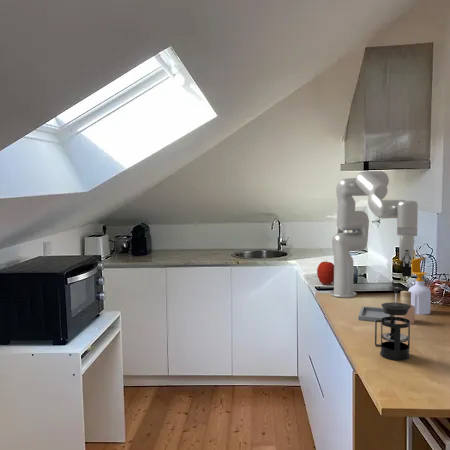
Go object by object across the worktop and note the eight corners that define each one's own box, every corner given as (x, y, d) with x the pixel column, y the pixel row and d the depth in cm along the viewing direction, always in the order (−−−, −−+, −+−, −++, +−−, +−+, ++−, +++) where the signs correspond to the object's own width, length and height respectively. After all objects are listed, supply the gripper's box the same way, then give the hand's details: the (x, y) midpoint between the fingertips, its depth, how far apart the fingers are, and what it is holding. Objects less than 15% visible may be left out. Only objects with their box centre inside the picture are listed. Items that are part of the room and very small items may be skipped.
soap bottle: (416, 317, 205) (418, 259, 203) (403, 311, 214) (404, 256, 211) (435, 315, 207) (436, 258, 205) (421, 309, 216) (422, 255, 214)
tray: (361, 311, 214) (361, 306, 214) (390, 314, 210) (390, 308, 210) (358, 322, 199) (358, 316, 199) (389, 324, 195) (389, 318, 195)
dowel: (400, 319, 199) (400, 290, 198) (410, 320, 198) (411, 291, 196) (399, 322, 195) (400, 292, 194) (410, 323, 194) (411, 293, 193)
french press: (409, 351, 165) (410, 284, 163) (414, 361, 156) (416, 291, 154) (373, 349, 167) (374, 283, 165) (376, 359, 158) (377, 290, 156)
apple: (316, 285, 267) (316, 260, 266) (318, 282, 277) (318, 257, 276) (335, 286, 264) (335, 261, 263) (336, 282, 274) (336, 258, 273)
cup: (396, 320, 201) (396, 303, 200) (414, 321, 199) (414, 304, 198) (396, 324, 195) (396, 307, 194) (414, 326, 192) (414, 309, 191)
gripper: (397, 229, 202) (397, 270, 204) (396, 233, 186) (396, 277, 188) (416, 230, 200) (416, 271, 201) (417, 234, 184) (417, 278, 185)
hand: (406, 274), depth 194 cm, fingers open, 9 cm apart
